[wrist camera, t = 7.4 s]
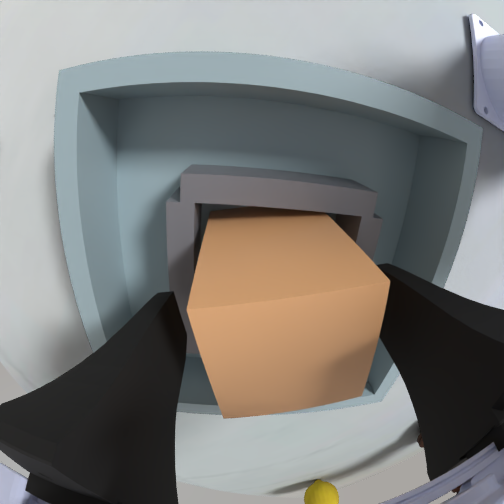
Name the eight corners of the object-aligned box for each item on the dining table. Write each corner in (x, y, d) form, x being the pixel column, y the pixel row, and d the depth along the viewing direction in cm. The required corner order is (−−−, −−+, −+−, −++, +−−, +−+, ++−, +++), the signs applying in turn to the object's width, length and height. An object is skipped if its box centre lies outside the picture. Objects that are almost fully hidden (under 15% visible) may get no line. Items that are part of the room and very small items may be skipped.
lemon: (316, 474, 31) (325, 515, 23) (340, 473, 32) (349, 511, 25) (294, 484, 33) (300, 522, 25) (318, 484, 34) (325, 519, 27)
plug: (312, 199, 12) (390, 280, 6) (313, 285, 14) (361, 396, 8) (210, 211, 12) (186, 309, 6) (225, 297, 14) (223, 418, 7)
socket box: (424, 121, 11) (483, 128, 7) (359, 354, 18) (381, 401, 14) (110, 83, 10) (59, 70, 6) (131, 349, 16) (114, 401, 12)
